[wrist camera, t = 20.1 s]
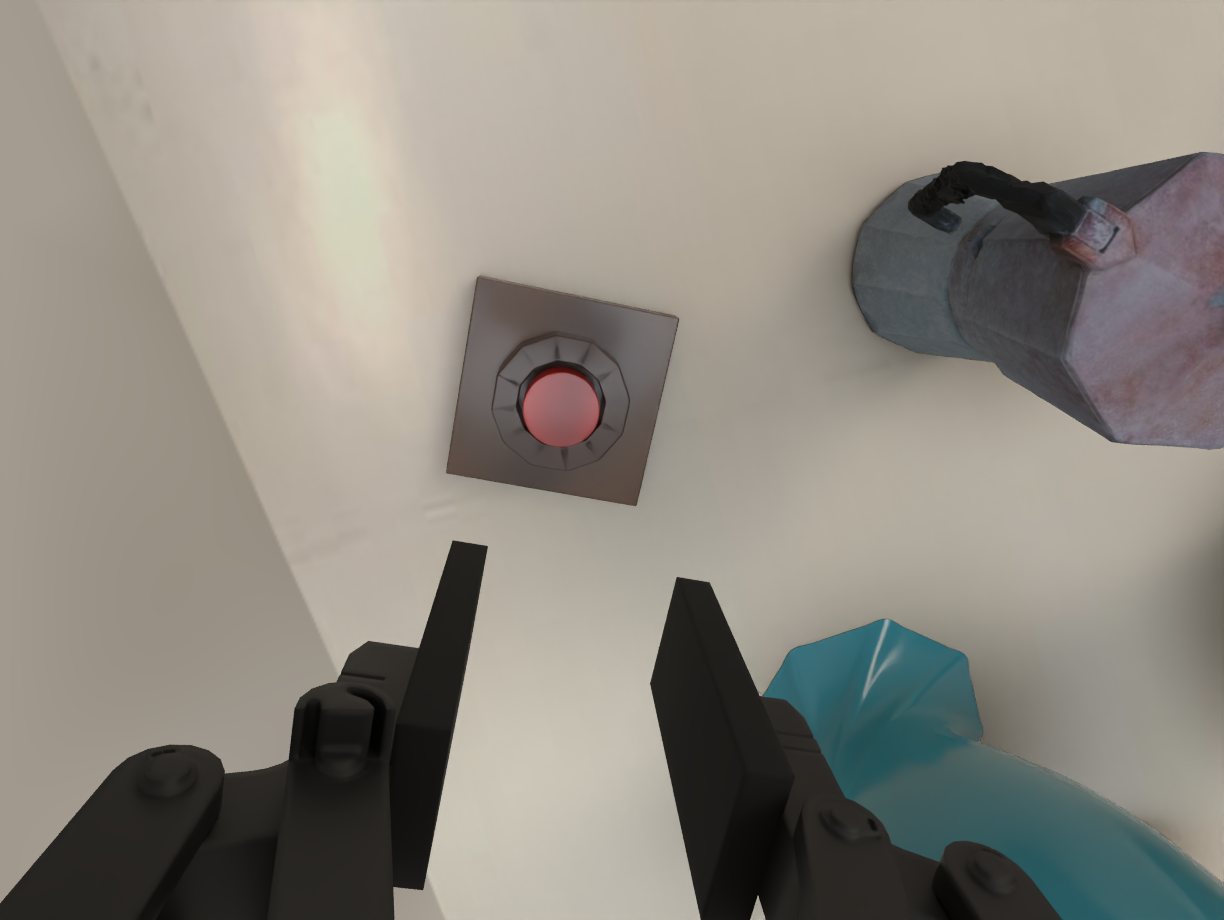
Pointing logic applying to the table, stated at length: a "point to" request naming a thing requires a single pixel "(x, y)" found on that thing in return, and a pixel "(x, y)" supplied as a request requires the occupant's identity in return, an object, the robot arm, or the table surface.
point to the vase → (977, 780)
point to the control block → (559, 337)
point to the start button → (561, 407)
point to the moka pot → (1065, 288)
